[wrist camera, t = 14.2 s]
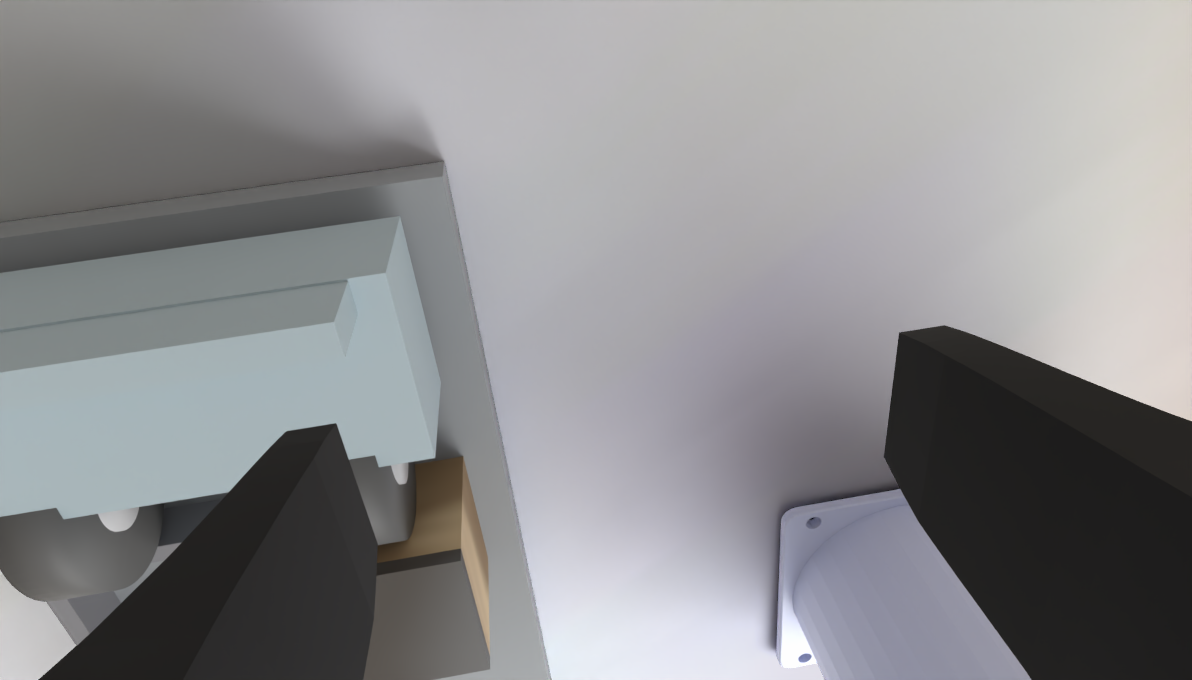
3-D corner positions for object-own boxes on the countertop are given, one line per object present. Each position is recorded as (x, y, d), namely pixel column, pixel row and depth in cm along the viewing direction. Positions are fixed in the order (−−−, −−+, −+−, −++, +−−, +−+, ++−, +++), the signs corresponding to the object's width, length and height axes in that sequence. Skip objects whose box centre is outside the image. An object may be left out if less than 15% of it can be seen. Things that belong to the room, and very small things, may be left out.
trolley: (403, 203, 17) (375, 312, 12) (464, 456, 21) (460, 612, 16) (-75, 270, 16) (-292, 413, 12) (78, 519, 20) (-42, 702, 15)
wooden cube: (463, 456, 21) (460, 561, 17) (488, 558, 23) (490, 669, 20) (317, 480, 21) (287, 591, 17) (356, 581, 23) (335, 698, 19)
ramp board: (444, 160, 18) (439, 198, 16) (564, 744, 30) (572, 814, 28) (-99, 236, 17) (-190, 287, 15) (250, 805, 29) (231, 882, 27)
